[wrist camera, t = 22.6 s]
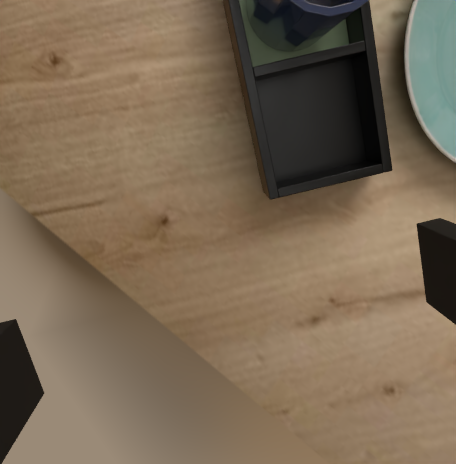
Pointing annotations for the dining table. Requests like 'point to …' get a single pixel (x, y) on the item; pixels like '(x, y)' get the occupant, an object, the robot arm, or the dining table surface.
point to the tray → (312, 105)
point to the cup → (297, 20)
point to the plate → (433, 70)
